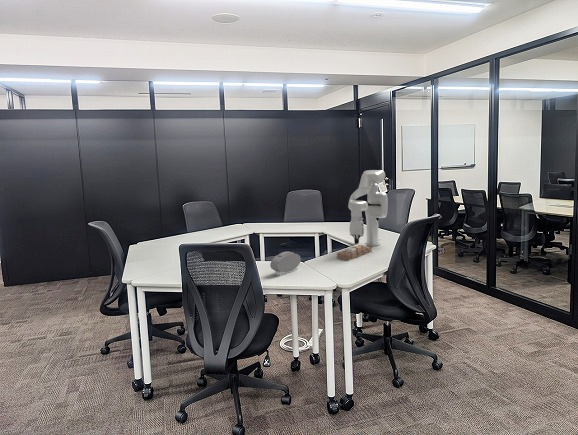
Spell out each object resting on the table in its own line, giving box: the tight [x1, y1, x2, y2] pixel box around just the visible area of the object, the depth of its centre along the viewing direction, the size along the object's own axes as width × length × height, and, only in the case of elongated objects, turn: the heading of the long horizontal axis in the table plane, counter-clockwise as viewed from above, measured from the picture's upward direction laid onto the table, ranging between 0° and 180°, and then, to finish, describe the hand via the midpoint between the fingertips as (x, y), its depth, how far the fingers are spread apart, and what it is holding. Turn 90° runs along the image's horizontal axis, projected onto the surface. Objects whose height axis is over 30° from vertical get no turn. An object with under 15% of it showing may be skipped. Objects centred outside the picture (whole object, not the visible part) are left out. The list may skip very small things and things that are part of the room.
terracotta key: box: [351, 245, 362, 250], centre depth 312 cm, size 5×5×3 cm
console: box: [336, 246, 373, 261], centre depth 310 cm, size 32×10×4 cm, turn 141°
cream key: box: [345, 247, 356, 252], centre depth 306 cm, size 5×5×3 cm
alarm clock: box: [269, 251, 302, 276], centre depth 269 cm, size 23×6×13 cm, turn 141°
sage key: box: [357, 243, 367, 248], centre depth 318 cm, size 5×5×3 cm
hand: (356, 243), depth 311 cm, fingers closed
